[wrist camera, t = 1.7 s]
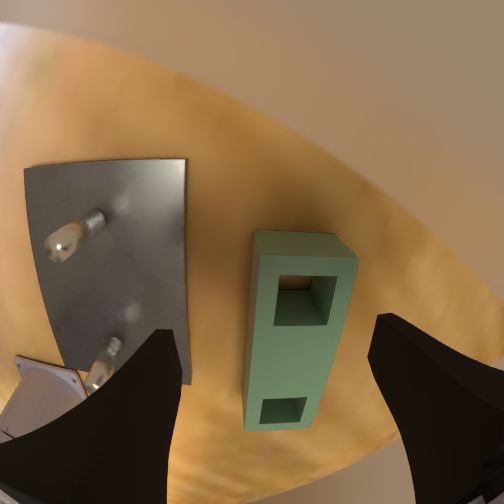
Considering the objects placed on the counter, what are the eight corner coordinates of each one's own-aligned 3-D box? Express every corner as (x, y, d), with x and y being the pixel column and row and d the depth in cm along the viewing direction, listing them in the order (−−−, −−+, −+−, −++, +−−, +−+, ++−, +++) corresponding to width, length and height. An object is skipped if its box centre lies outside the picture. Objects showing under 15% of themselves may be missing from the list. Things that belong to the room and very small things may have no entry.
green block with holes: (300, 392, 23) (310, 427, 19) (241, 393, 22) (244, 431, 19) (334, 233, 18) (359, 258, 14) (254, 229, 17) (260, 254, 14)
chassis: (192, 376, 21) (185, 432, 16) (69, 360, 20) (44, 405, 15) (187, 158, 16) (166, 166, 10) (32, 166, 15) (-24, 181, 9)
